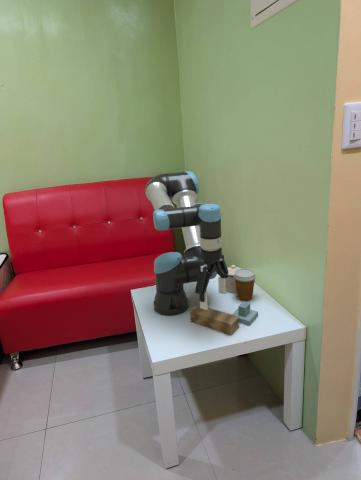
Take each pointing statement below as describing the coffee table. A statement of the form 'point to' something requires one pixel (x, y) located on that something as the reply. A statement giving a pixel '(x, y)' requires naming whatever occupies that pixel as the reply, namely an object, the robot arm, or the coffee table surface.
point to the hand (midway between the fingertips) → (213, 300)
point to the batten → (215, 320)
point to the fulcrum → (245, 313)
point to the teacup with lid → (231, 279)
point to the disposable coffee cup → (244, 283)
